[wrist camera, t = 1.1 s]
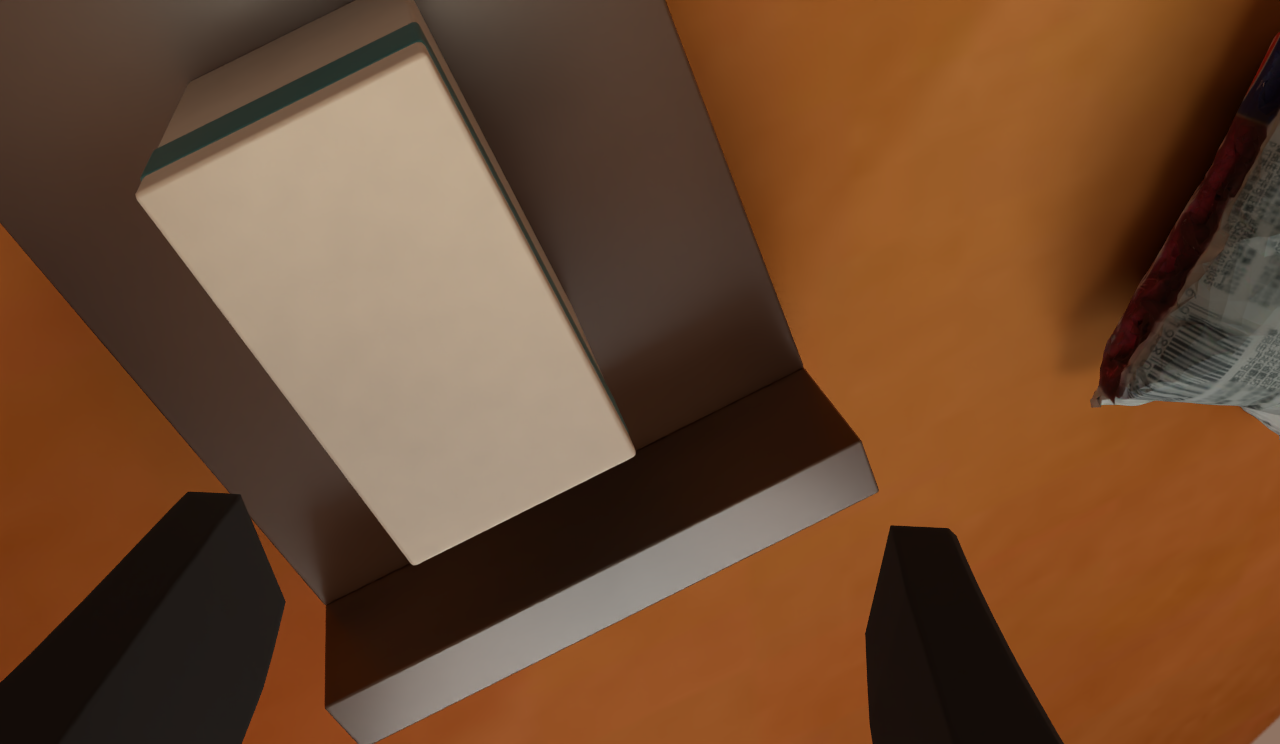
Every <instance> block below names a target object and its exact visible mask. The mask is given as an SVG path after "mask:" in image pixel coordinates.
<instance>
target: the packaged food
mask: <svg viewBox="0 0 1280 744" xmlns="http://www.w3.org/2000/svg"><path fill="white" fill-rule="evenodd" d="M1155 400H1158V401H1170V402H1188V403H1198V404H1210V405H1233V406H1241V408H1242V409H1243V410H1244V411H1246V412H1248V413H1249V414H1251V415H1253V416H1254V417H1256V418H1257V419H1258V420H1260V421H1261V422H1262V423H1263V424H1264V425H1265V426H1266V427H1268V428H1269V429H1270V430H1272V431H1273V432H1275V433H1277V434H1278V435H1279V437H1280V32H1279V33H1278V34H1277V35H1276V36H1275V37H1274V39H1273V41H1272V43H1271V45H1270V47H1269V49H1268V51H1267V53H1266V55H1265V57H1264V59H1263V61H1262V63H1261V65H1260V67H1259V69H1258V71H1257V73H1256V75H1255V77H1254V79H1253V81H1252V83H1251V85H1250V87H1249V89H1248V91H1247V93H1246V95H1245V97H1244V99H1243V101H1242V103H1241V105H1240V107H1239V109H1238V111H1237V113H1236V115H1235V118H1234V120H1233V122H1232V124H1231V126H1230V129H1229V131H1228V133H1227V135H1226V137H1225V138H1224V140H1223V142H1222V144H1221V145H1220V147H1219V149H1218V151H1217V153H1216V156H1215V159H1214V161H1213V164H1212V166H1211V167H1210V169H1209V170H1208V172H1207V173H1206V174H1205V178H1204V180H1203V181H1202V182H1201V184H1200V185H1199V186H1198V188H1197V189H1196V191H1195V192H1194V194H1193V195H1192V197H1191V199H1190V200H1189V202H1188V204H1187V205H1186V207H1185V209H1184V210H1183V212H1182V214H1181V215H1180V217H1179V219H1178V220H1177V222H1176V224H1175V225H1174V227H1173V229H1172V230H1171V232H1170V234H1169V236H1168V238H1167V240H1166V242H1165V244H1164V245H1163V247H1162V249H1161V250H1160V252H1159V254H1158V255H1157V257H1156V259H1155V260H1154V262H1153V264H1152V265H1151V267H1150V269H1149V270H1148V272H1147V273H1146V274H1145V276H1144V277H1143V279H1142V280H1141V281H1140V283H1139V285H1138V287H1137V289H1136V291H1135V293H1134V295H1133V297H1132V299H1131V301H1130V302H1129V305H1128V307H1127V309H1126V311H1125V313H1124V314H1123V316H1122V317H1121V319H1120V321H1119V323H1118V325H1117V327H1116V328H1115V330H1114V332H1113V334H1112V335H1111V337H1110V338H1109V340H1108V341H1107V344H1106V347H1105V350H1104V354H1103V361H1102V364H1101V367H1100V381H1099V386H1098V389H1097V390H1096V391H1095V392H1094V395H1093V397H1092V399H1091V400H1090V401H1091V407H1101V405H1127V406H1138V405H1141V404H1145V403H1148V402H1152V401H1155ZM1279 440H1280V439H1279Z"/></svg>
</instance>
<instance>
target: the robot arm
mask: <svg viewBox="0 0 1280 744" xmlns="http://www.w3.org/2000/svg"><path fill="white" fill-rule="evenodd" d="M284 606H285V599H284V597H283V595H282V592H281V590H280V587H279V585H278V583H277V580H276V578H275V575H274V573H273V571H272V568H271V566H270V563H269V561H268V559H267V556H266V554H265V552H264V549H263V547H262V544H261V542H260V540H259V537H258V535H257V532H256V530H255V528H254V525H253V523H252V520H251V518H250V516H249V513H248V511H247V508H246V506H245V504H244V501H243V499H242V497H241V494H225V493H205V492H187V493H186V494H185V495H184V496H183V497H182V498H181V499H180V500H179V501H178V502H177V503H176V504H175V505H174V506H173V507H172V508H171V509H170V510H169V511H168V512H167V513H166V514H165V515H164V516H163V517H162V519H161V520H160V521H159V522H158V523H157V524H156V525H155V526H154V527H153V528H152V529H151V530H150V531H149V532H148V533H147V534H146V535H145V536H144V537H143V538H142V540H141V541H140V542H139V543H138V544H137V545H136V546H135V547H134V548H133V549H132V550H131V551H130V552H129V553H128V554H127V555H126V556H125V557H124V558H123V560H122V561H121V562H120V563H119V564H118V565H117V566H116V567H115V568H114V569H113V570H112V571H111V572H110V573H109V574H108V575H107V576H106V577H105V578H104V579H103V580H102V581H101V583H100V584H99V585H98V586H97V587H96V588H95V589H94V590H93V591H92V592H91V593H90V594H89V595H88V596H87V597H86V598H85V599H84V600H83V601H82V602H81V603H80V604H79V605H78V606H77V607H76V608H75V609H74V610H73V611H72V612H71V613H70V614H69V615H68V616H67V617H66V618H65V619H64V620H63V621H62V622H61V623H60V624H59V625H58V626H57V627H56V628H55V629H54V630H53V631H52V632H51V633H50V634H49V635H48V636H47V638H46V639H45V640H44V641H43V642H42V643H41V644H40V645H39V646H38V647H37V648H36V649H35V650H34V651H33V652H32V653H31V654H30V655H29V656H28V657H27V658H26V659H25V660H23V661H22V662H21V663H20V664H19V665H18V666H17V667H16V668H15V669H14V670H13V671H12V672H11V673H10V674H9V675H8V676H7V677H6V678H5V679H4V680H3V681H1V682H0V744H242V741H243V739H244V736H245V734H246V731H247V729H248V726H249V724H250V721H251V718H252V716H253V713H254V711H255V708H256V706H257V703H258V700H259V698H260V695H261V692H262V690H263V687H264V683H265V680H266V676H267V673H268V669H269V665H270V662H271V658H272V654H273V651H274V647H275V643H276V639H277V635H278V630H279V626H280V622H281V618H282V614H283V610H284ZM865 637H866V660H867V683H868V701H869V719H870V729H871V735H872V742H873V744H1064V743H1063V742H1062V740H1061V738H1060V737H1059V735H1058V733H1057V732H1056V730H1055V728H1054V726H1053V725H1052V723H1051V721H1050V719H1049V718H1048V716H1047V714H1046V712H1045V711H1044V709H1043V707H1042V705H1041V704H1040V702H1039V700H1038V698H1037V697H1036V695H1035V693H1034V691H1033V690H1032V688H1031V686H1030V684H1029V683H1028V681H1027V679H1026V678H1025V676H1024V674H1023V672H1022V670H1021V668H1020V667H1019V665H1018V663H1017V661H1016V659H1015V657H1014V655H1013V654H1012V652H1011V650H1010V648H1009V646H1008V644H1007V642H1006V640H1005V638H1004V636H1003V634H1002V632H1001V630H1000V628H999V627H998V625H997V623H996V621H995V619H994V617H993V615H992V613H991V611H990V609H989V607H988V605H987V603H986V601H985V598H984V596H983V594H982V592H981V590H980V588H979V586H978V584H977V582H976V580H975V577H974V575H973V573H972V571H971V569H970V566H969V564H968V562H967V560H966V557H965V555H964V553H963V551H962V548H961V546H960V543H959V541H958V539H957V536H956V535H955V534H954V533H953V532H952V531H951V530H950V529H949V528H932V527H911V526H890V531H889V535H888V539H887V543H886V548H885V552H884V556H883V560H882V565H881V569H880V573H879V577H878V582H877V586H876V590H875V594H874V599H873V603H872V607H871V611H870V616H869V620H868V624H867V629H866V633H865Z"/></svg>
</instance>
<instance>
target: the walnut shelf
mask: <svg viewBox="0 0 1280 744" xmlns="http://www.w3.org/2000/svg"><path fill="white" fill-rule="evenodd" d="M353 1H355V0H0V223H1V224H2V226H3V227H4V228H5V229H6V230H7V231H8V233H9V234H10V235H11V236H12V237H13V238H14V240H15V241H16V242H17V243H18V244H19V246H20V247H21V248H22V249H23V250H24V251H25V253H26V254H27V255H28V256H29V257H30V258H31V260H32V261H33V262H34V263H35V264H36V266H37V267H38V268H39V269H40V270H41V271H42V273H43V274H44V275H45V276H46V277H47V278H48V280H49V281H50V282H51V283H52V284H53V286H54V287H55V288H56V289H57V290H58V291H59V293H60V294H61V295H62V296H63V297H64V299H65V300H66V301H67V302H68V303H69V304H70V306H71V307H72V308H73V309H74V310H75V311H76V313H77V314H78V315H79V316H80V317H81V319H82V320H83V321H84V322H85V323H86V324H87V326H88V327H89V328H90V329H91V330H92V331H93V333H94V334H95V335H96V336H97V337H98V339H99V340H100V341H101V342H102V343H103V344H104V346H105V347H106V348H107V349H108V350H109V351H110V353H111V354H112V355H113V356H114V357H115V359H116V360H117V361H118V362H119V363H120V364H121V366H122V367H123V368H124V369H125V370H126V371H127V373H128V374H129V375H130V376H131V377H132V379H133V380H134V381H135V382H136V383H137V384H138V386H139V387H140V388H141V389H142V390H143V392H144V393H145V394H146V395H147V396H148V397H149V399H150V400H151V401H152V402H153V403H154V404H155V406H156V407H157V408H158V409H159V410H160V412H161V413H162V414H163V415H164V416H165V417H166V419H167V420H168V421H169V422H170V423H171V424H172V426H173V427H174V428H175V429H176V430H177V432H178V433H179V434H180V435H181V436H182V437H183V439H184V440H185V441H186V442H187V443H188V444H189V446H190V447H191V448H192V449H193V450H194V452H195V453H196V454H197V455H198V456H199V457H200V459H201V460H202V461H203V462H204V463H205V464H206V466H207V467H208V468H209V469H210V470H211V472H212V473H213V474H214V475H215V476H216V477H217V479H218V480H219V481H220V482H221V483H222V485H223V486H224V487H225V488H226V489H227V490H228V492H229V493H230V494H241V497H242V499H243V501H244V504H245V506H246V508H247V511H248V513H249V516H250V517H251V519H252V520H253V521H254V522H255V523H256V525H257V526H258V527H259V528H260V529H261V530H262V532H263V533H264V534H265V535H266V536H267V537H268V539H269V540H270V541H271V542H272V543H273V545H274V546H275V547H276V548H277V549H278V550H279V552H280V553H281V554H282V555H283V556H284V558H285V559H286V560H287V561H288V562H289V563H290V565H291V566H292V567H293V568H294V569H295V570H296V572H297V573H298V574H299V575H300V576H301V578H302V579H303V580H304V581H305V582H306V583H307V585H308V586H309V587H310V588H311V589H312V590H313V592H314V593H315V594H316V595H317V596H318V598H319V599H320V600H321V601H322V602H323V603H324V604H325V605H326V643H325V709H326V710H327V711H328V712H329V713H330V714H331V715H332V716H333V718H334V719H335V720H336V721H337V722H338V723H339V724H340V725H341V726H342V727H343V728H344V729H345V730H346V732H347V733H348V734H349V735H350V736H351V737H352V738H353V739H354V740H355V741H356V742H357V743H358V744H374V743H376V742H378V741H380V740H382V739H384V738H386V737H388V736H390V735H392V734H394V733H396V732H398V731H400V730H402V729H404V728H406V727H408V726H410V725H412V724H414V723H416V722H418V721H420V720H422V719H424V718H426V717H428V716H430V715H432V714H434V713H436V712H438V711H440V710H442V709H444V708H446V707H448V706H450V705H452V704H454V703H456V702H458V701H460V700H462V699H464V698H466V697H468V696H470V695H472V694H474V693H476V692H478V691H480V690H482V689H484V688H486V687H488V686H490V685H492V684H494V683H496V682H498V681H500V680H502V679H504V678H506V677H508V676H510V675H512V674H514V673H516V672H518V671H520V670H522V669H524V668H526V667H528V666H530V665H532V664H534V663H536V662H538V661H540V660H542V659H544V658H546V657H548V656H550V655H552V654H554V653H556V652H558V651H560V650H562V649H564V648H566V647H568V646H570V645H572V644H574V643H576V642H578V641H580V640H582V639H584V638H586V637H588V636H590V635H592V634H594V633H596V632H598V631H600V630H602V629H604V628H606V627H608V626H610V625H612V624H614V623H616V622H618V621H620V620H622V619H624V618H626V617H628V616H630V615H632V614H634V613H636V612H638V611H640V610H642V609H644V608H646V607H648V606H650V605H652V604H654V603H657V602H659V601H661V600H663V599H665V598H667V597H669V596H671V595H673V594H675V593H677V592H679V591H681V590H683V589H685V588H687V587H689V586H691V585H693V584H695V583H697V582H699V581H701V580H703V579H705V578H707V577H709V576H711V575H713V574H715V573H717V572H719V571H721V570H723V569H725V568H727V567H729V566H731V565H733V564H735V563H737V562H739V561H741V560H743V559H745V558H747V557H749V556H751V555H753V554H755V553H757V552H759V551H761V550H763V549H765V548H767V547H769V546H771V545H773V544H775V543H777V542H779V541H781V540H783V539H785V538H787V537H789V536H791V535H793V534H795V533H797V532H799V531H801V530H803V529H805V528H807V527H809V526H811V525H813V524H815V523H817V522H819V521H821V520H823V519H825V518H827V517H829V516H831V515H833V514H835V513H837V512H839V511H841V510H843V509H845V508H847V507H849V506H851V505H853V504H855V503H857V502H859V501H861V500H863V499H865V498H867V497H869V496H871V495H873V494H875V493H877V492H878V491H879V489H878V486H877V483H876V481H875V478H874V475H873V472H872V469H871V467H870V464H869V461H868V458H867V455H866V453H865V450H864V447H863V444H862V441H861V440H860V439H859V437H858V436H857V435H856V433H855V432H854V431H853V430H852V428H851V427H850V426H849V425H848V423H847V422H846V421H845V419H844V418H843V417H842V416H841V414H840V413H839V412H838V411H837V409H836V408H835V407H834V405H833V404H832V403H831V402H830V400H829V399H828V398H827V397H826V395H825V394H824V393H823V391H822V390H821V389H820V388H819V386H818V385H817V384H816V383H815V381H814V380H813V379H812V377H811V376H810V375H809V374H808V372H807V371H806V370H805V369H804V367H803V363H802V361H801V358H800V355H799V353H798V350H797V347H796V345H795V342H794V340H793V337H792V334H791V332H790V329H789V326H788V324H787V321H786V318H785V316H784V313H783V310H782V308H781V305H780V303H779V300H778V297H777V295H776V292H775V289H774V287H773V284H772V281H771V279H770V276H769V273H768V271H767V268H766V265H765V263H764V260H763V258H762V255H761V252H760V250H759V247H758V244H757V242H756V239H755V236H754V234H753V231H752V228H751V226H750V223H749V221H748V218H747V215H746V213H745V210H744V207H743V205H742V202H741V199H740V197H739V194H738V191H737V189H736V186H735V184H734V181H733V178H732V176H731V173H730V170H729V168H728V165H727V162H726V160H725V157H724V154H723V152H722V149H721V146H720V144H719V141H718V139H717V136H716V133H715V131H714V128H713V125H712V123H711V120H710V117H709V115H708V112H707V109H706V107H705V104H704V102H703V99H702V96H701V94H700V91H699V88H698V86H697V83H696V80H695V78H694V75H693V72H692V70H691V67H690V64H689V62H688V59H687V57H686V54H685V51H684V49H683V46H682V43H681V41H680V38H679V35H678V33H677V30H676V27H675V25H674V22H673V20H672V17H671V14H670V12H669V9H668V6H667V4H666V1H665V0H414V2H415V3H416V5H417V7H418V9H419V11H420V13H421V15H422V17H423V19H424V21H425V23H426V25H427V27H428V29H429V31H430V32H431V34H432V36H433V38H434V40H435V42H436V44H437V46H438V48H439V50H440V52H441V54H442V56H443V58H444V60H445V62H446V63H447V65H448V67H449V69H450V71H451V73H452V75H453V77H454V79H455V81H456V83H457V85H458V87H459V89H460V91H461V92H462V94H463V96H464V98H465V100H466V102H467V104H468V106H469V108H470V110H471V112H472V114H473V116H474V118H475V120H476V121H477V123H478V125H479V127H480V129H481V131H482V133H483V135H484V137H485V139H486V141H487V143H488V145H489V147H490V149H491V151H492V152H493V154H494V156H495V158H496V160H497V162H498V164H499V166H500V168H501V170H502V172H503V174H504V176H505V178H506V180H507V181H508V183H509V185H510V187H511V189H512V191H513V193H514V195H515V197H516V199H517V201H518V203H519V205H520V207H521V209H522V210H523V212H524V214H525V216H526V218H527V220H528V222H529V224H530V226H531V228H532V230H533V232H534V234H535V236H536V238H537V240H538V241H539V243H540V245H541V247H542V249H543V251H544V253H545V255H546V257H547V259H548V261H549V263H550V265H551V267H552V269H553V270H554V272H555V274H556V276H557V278H558V280H559V282H560V284H561V286H562V288H563V290H564V292H565V294H566V296H567V298H568V299H569V301H570V303H571V305H572V307H573V310H574V312H575V314H576V317H577V319H578V321H579V323H580V326H581V328H582V330H583V332H584V335H585V337H586V339H587V341H588V344H589V346H590V348H591V351H592V353H593V355H594V357H595V360H596V362H597V364H598V366H599V369H600V371H601V373H602V375H603V378H604V380H605V382H606V384H607V386H608V388H609V390H610V392H611V394H612V396H613V397H614V399H615V402H616V404H617V406H618V409H619V411H620V413H621V415H622V418H623V420H624V422H625V424H626V427H627V429H628V431H629V437H630V439H631V441H632V443H633V446H634V448H635V451H636V454H635V456H634V457H633V458H631V459H629V460H627V461H625V462H623V463H621V464H618V465H616V466H614V467H612V468H610V469H608V470H606V471H604V472H602V473H600V474H598V475H596V476H594V477H592V478H590V479H588V480H586V481H584V482H582V483H580V484H578V485H576V486H574V487H572V488H570V489H568V490H566V491H564V492H562V493H560V494H558V495H556V496H554V497H552V498H550V499H548V500H546V501H544V502H542V503H540V504H538V505H536V506H534V507H532V508H530V509H528V510H526V511H524V512H522V513H520V514H518V515H516V516H514V517H512V518H510V519H508V520H506V521H504V522H502V523H500V524H498V525H496V526H494V527H492V528H490V529H488V530H486V531H484V532H482V533H480V534H478V535H476V536H474V537H472V538H470V539H468V540H466V541H464V542H462V543H460V544H458V545H456V546H454V547H452V548H450V549H448V550H446V551H444V552H442V553H440V554H438V555H436V556H434V557H432V558H430V559H428V560H426V561H424V562H422V563H420V564H418V565H412V564H411V563H410V562H409V561H408V559H407V558H406V557H405V555H404V554H403V553H402V551H401V550H400V549H399V547H398V546H397V545H396V543H395V542H394V541H393V539H392V538H391V537H390V535H389V534H388V533H387V531H386V530H385V529H384V527H383V526H382V525H381V523H380V522H379V521H378V519H377V518H376V517H375V515H374V514H373V513H372V512H371V510H370V509H369V508H368V506H367V505H366V504H365V502H364V501H363V500H362V498H361V497H360V496H359V494H358V493H357V492H356V490H355V489H354V488H353V486H352V485H351V484H350V482H349V481H348V480H347V478H346V477H345V476H344V474H343V473H342V472H341V470H340V469H339V468H338V466H337V465H336V464H335V462H334V461H333V460H332V458H331V457H330V456H329V454H328V453H327V452H326V450H325V449H324V448H323V446H322V445H321V444H320V442H319V441H318V440H317V438H316V437H315V436H314V434H313V433H312V432H311V430H310V429H309V428H308V426H307V425H306V424H305V422H304V421H303V420H302V418H301V417H300V416H299V415H298V413H297V412H296V411H295V409H294V408H293V407H292V405H291V404H290V403H289V401H288V400H287V399H286V397H285V396H284V395H283V393H282V392H281V391H280V389H279V388H278V387H277V385H276V384H275V383H274V381H273V380H272V379H271V377H270V376H269V375H268V373H267V372H266V371H265V369H264V368H263V367H262V365H261V364H260V363H259V361H258V360H257V359H256V357H255V356H254V355H253V353H252V352H251V351H250V349H249V348H248V347H247V345H246V344H245V343H244V341H243V340H242V339H241V337H240V336H239V335H238V333H237V332H236V331H235V329H234V328H233V327H232V325H231V324H230V323H229V321H228V320H227V319H226V317H225V316H224V315H223V314H222V312H221V311H220V310H219V308H218V307H217V306H216V304H215V303H214V302H213V300H212V299H211V298H210V296H209V295H208V294H207V292H206V291H205V290H204V288H203V287H202V286H201V284H200V283H199V282H198V280H197V279H196V278H195V276H194V275H193V274H192V272H191V271H190V270H189V268H188V267H187V266H186V264H185V263H184V262H183V260H182V259H181V258H180V256H179V255H178V254H177V252H176V251H175V250H174V248H173V247H172V246H171V244H170V243H169V242H168V240H167V239H166V238H165V236H164V235H163V234H162V232H161V231H160V230H159V228H158V227H157V226H156V224H155V223H154V222H153V220H152V219H151V218H150V217H149V215H148V214H147V213H146V211H145V210H144V209H143V207H142V206H141V205H140V203H139V202H138V201H137V199H136V195H135V194H136V192H137V190H138V188H139V186H140V184H141V180H140V177H141V175H142V173H143V171H144V169H145V167H146V165H147V163H148V161H149V159H150V156H151V154H152V152H153V151H154V150H155V149H157V148H158V146H159V144H160V142H161V140H162V138H163V136H164V134H165V131H166V129H167V127H168V125H169V123H170V121H171V119H172V117H173V115H174V113H175V111H176V108H177V106H178V104H179V102H180V100H181V98H182V96H183V94H184V92H185V90H186V88H187V85H188V84H189V83H190V82H191V81H193V80H195V79H197V78H199V77H201V76H203V75H205V74H207V73H209V72H211V71H213V70H215V69H217V68H219V67H221V66H223V65H225V64H227V63H230V62H232V61H234V60H236V59H238V58H240V57H242V56H244V55H246V54H248V53H250V52H252V51H254V50H256V49H258V48H260V47H262V46H264V45H266V44H268V43H270V42H272V41H274V40H276V39H278V38H280V37H282V36H284V35H286V34H288V33H290V32H292V31H294V30H296V29H298V28H300V27H302V26H304V25H306V24H308V23H310V22H312V21H314V20H316V19H318V18H321V17H323V16H325V15H327V14H329V13H331V12H333V11H335V10H337V9H339V8H341V7H343V6H345V5H347V4H349V3H351V2H353Z"/></svg>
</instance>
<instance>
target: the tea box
mask: <svg viewBox="0 0 1280 744" xmlns="http://www.w3.org/2000/svg"><path fill="white" fill-rule="evenodd" d="M140 180H141V184H140V186H139V188H138V190H137V192H136V194H135V195H136V199H137V201H138V202H139V203H140V205H141V206H142V207H143V209H144V210H145V211H146V213H147V214H148V215H149V217H150V218H151V219H152V220H153V222H154V223H155V224H156V226H157V227H158V228H159V230H160V231H161V232H162V234H163V235H164V236H165V238H166V239H167V240H168V242H169V243H170V244H171V246H172V247H173V248H174V250H175V251H176V252H177V254H178V255H179V256H180V258H181V259H182V260H183V262H184V263H185V264H186V266H187V267H188V268H189V270H190V271H191V272H192V274H193V275H194V276H195V278H196V279H197V280H198V282H199V283H200V284H201V286H202V287H203V288H204V290H205V291H206V292H207V294H208V295H209V296H210V298H211V299H212V300H213V302H214V303H215V304H216V306H217V307H218V308H219V310H220V311H221V312H222V314H223V315H224V316H225V317H226V319H227V320H228V321H229V323H230V324H231V325H232V327H233V328H234V329H235V331H236V332H237V333H238V335H239V336H240V337H241V339H242V340H243V341H244V343H245V344H246V345H247V347H248V348H249V349H250V351H251V352H252V353H253V355H254V356H255V357H256V359H257V360H258V361H259V363H260V364H261V365H262V367H263V368H264V369H265V371H266V372H267V373H268V375H269V376H270V377H271V379H272V380H273V381H274V383H275V384H276V385H277V387H278V388H279V389H280V391H281V392H282V393H283V395H284V396H285V397H286V399H287V400H288V401H289V403H290V404H291V405H292V407H293V408H294V409H295V411H296V412H297V413H298V415H299V416H300V417H301V418H302V420H303V421H304V422H305V424H306V425H307V426H308V428H309V429H310V430H311V432H312V433H313V434H314V436H315V437H316V438H317V440H318V441H319V442H320V444H321V445H322V446H323V448H324V449H325V450H326V452H327V453H328V454H329V456H330V457H331V458H332V460H333V461H334V462H335V464H336V465H337V466H338V468H339V469H340V470H341V472H342V473H343V474H344V476H345V477H346V478H347V480H348V481H349V482H350V484H351V485H352V486H353V488H354V489H355V490H356V492H357V493H358V494H359V496H360V497H361V498H362V500H363V501H364V502H365V504H366V505H367V506H368V508H369V509H370V510H371V512H372V513H373V514H374V515H375V517H376V518H377V519H378V521H379V522H380V523H381V525H382V526H383V527H384V529H385V530H386V531H387V533H388V534H389V535H390V537H391V538H392V539H393V541H394V542H395V543H396V545H397V546H398V547H399V549H400V550H401V551H402V553H403V554H404V555H405V557H406V558H407V559H408V561H409V562H410V563H411V564H412V565H418V564H420V563H422V562H424V561H426V560H428V559H430V558H432V557H434V556H436V555H438V554H440V553H442V552H444V551H446V550H448V549H450V548H452V547H454V546H456V545H458V544H460V543H462V542H464V541H466V540H468V539H470V538H472V537H474V536H476V535H478V534H480V533H482V532H484V531H486V530H488V529H490V528H492V527H494V526H496V525H498V524H500V523H502V522H504V521H506V520H508V519H510V518H512V517H514V516H516V515H518V514H520V513H522V512H524V511H526V510H528V509H530V508H532V507H534V506H536V505H538V504H540V503H542V502H544V501H546V500H548V499H550V498H552V497H554V496H556V495H558V494H560V493H562V492H564V491H566V490H568V489H570V488H572V487H574V486H576V485H578V484H580V483H582V482H584V481H586V480H588V479H590V478H592V477H594V476H596V475H598V474H600V473H602V472H604V471H606V470H608V469H610V468H612V467H614V466H616V465H618V464H621V463H623V462H625V461H627V460H629V459H631V458H633V457H634V456H635V454H636V451H635V448H634V446H633V443H632V441H631V439H630V437H629V431H628V429H627V427H626V424H625V422H624V420H623V418H622V415H621V413H620V411H619V409H618V406H617V404H616V402H615V399H614V397H613V396H612V394H611V392H610V390H609V388H608V386H607V384H606V382H605V380H604V378H603V375H602V373H601V371H600V369H599V366H598V364H597V362H596V360H595V357H594V355H593V353H592V351H591V348H590V346H589V344H588V341H587V339H586V337H585V335H584V332H583V330H582V328H581V326H580V323H579V321H578V319H577V317H576V314H575V312H574V310H573V307H572V305H571V303H570V301H569V299H568V298H567V296H566V294H565V292H564V290H563V288H562V286H561V284H560V282H559V280H558V278H557V276H556V274H555V272H554V270H553V269H552V267H551V265H550V263H549V261H548V259H547V257H546V255H545V253H544V251H543V249H542V247H541V245H540V243H539V241H538V240H537V238H536V236H535V234H534V232H533V230H532V228H531V226H530V224H529V222H528V220H527V218H526V216H525V214H524V212H523V210H522V209H521V207H520V205H519V203H518V201H517V199H516V197H515V195H514V193H513V191H512V189H511V187H510V185H509V183H508V181H507V180H506V178H505V176H504V174H503V172H502V170H501V168H500V166H499V164H498V162H497V160H496V158H495V156H494V154H493V152H492V151H491V149H490V147H489V145H488V143H487V141H486V139H485V137H484V135H483V133H482V131H481V129H480V127H479V125H478V123H477V121H476V120H475V118H474V116H473V114H472V112H471V110H470V108H469V106H468V104H467V102H466V100H465V98H464V96H463V94H462V92H461V91H460V89H459V87H458V85H457V83H456V81H455V79H454V77H453V75H452V73H451V71H450V69H449V67H448V65H447V63H446V62H445V60H444V58H443V56H442V54H441V52H440V50H439V48H438V46H437V44H436V42H435V40H434V38H433V36H432V34H431V32H430V31H429V29H428V27H427V25H426V23H425V21H424V19H423V17H422V15H421V13H420V11H419V9H418V7H417V5H416V3H415V2H414V0H355V1H353V2H351V3H349V4H347V5H345V6H343V7H341V8H339V9H337V10H335V11H333V12H331V13H329V14H327V15H325V16H323V17H321V18H318V19H316V20H314V21H312V22H310V23H308V24H306V25H304V26H302V27H300V28H298V29H296V30H294V31H292V32H290V33H288V34H286V35H284V36H282V37H280V38H278V39H276V40H274V41H272V42H270V43H268V44H266V45H264V46H262V47H260V48H258V49H256V50H254V51H252V52H250V53H248V54H246V55H244V56H242V57H240V58H238V59H236V60H234V61H232V62H230V63H227V64H225V65H223V66H221V67H219V68H217V69H215V70H213V71H211V72H209V73H207V74H205V75H203V76H201V77H199V78H197V79H195V80H193V81H191V82H190V83H189V84H188V85H187V88H186V90H185V92H184V94H183V96H182V98H181V100H180V102H179V104H178V106H177V108H176V111H175V113H174V115H173V117H172V119H171V121H170V123H169V125H168V127H167V129H166V131H165V134H164V136H163V138H162V140H161V142H160V144H159V146H158V148H157V149H155V150H154V151H153V152H152V154H151V156H150V159H149V161H148V163H147V165H146V167H145V169H144V171H143V173H142V175H141V177H140Z"/></svg>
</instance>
